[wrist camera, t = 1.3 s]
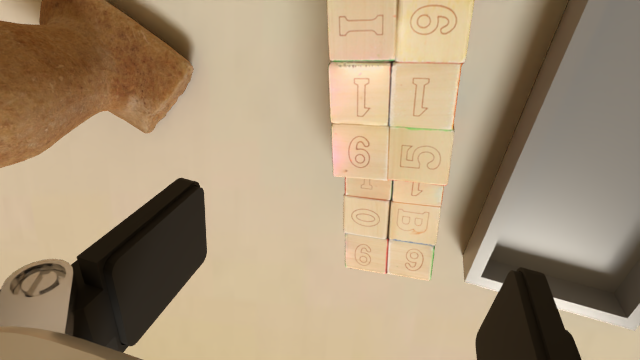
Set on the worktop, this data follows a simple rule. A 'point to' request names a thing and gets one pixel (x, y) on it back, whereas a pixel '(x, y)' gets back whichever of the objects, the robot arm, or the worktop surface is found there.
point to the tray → (573, 172)
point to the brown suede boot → (81, 75)
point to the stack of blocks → (394, 124)
